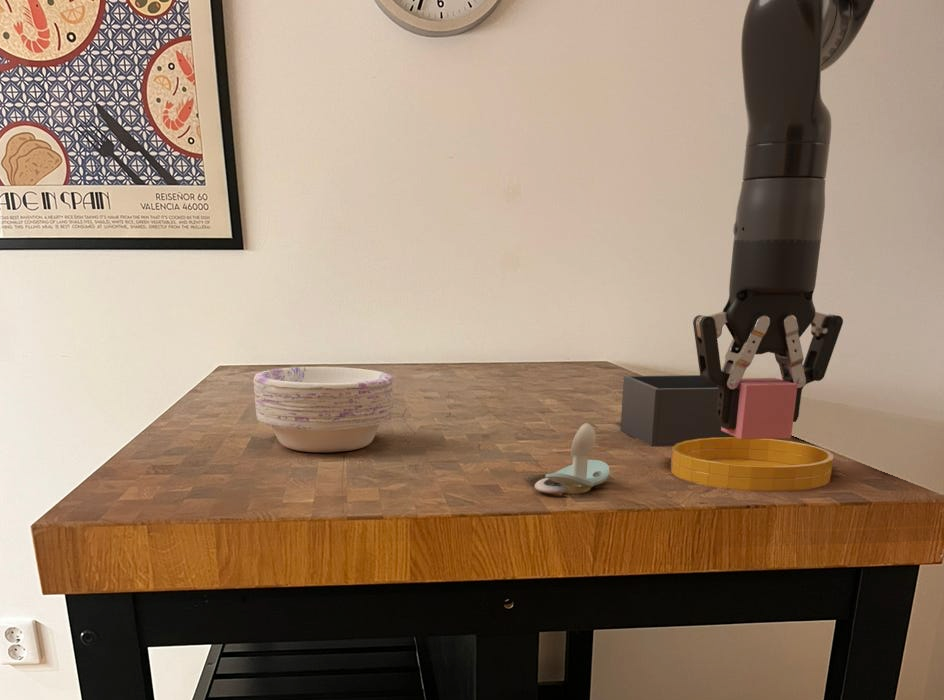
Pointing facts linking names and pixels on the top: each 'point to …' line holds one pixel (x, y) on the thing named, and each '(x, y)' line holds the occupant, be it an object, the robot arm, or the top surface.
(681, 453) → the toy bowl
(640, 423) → the grey bin
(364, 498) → the top surface
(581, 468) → the pacifier
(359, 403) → the paper bowls
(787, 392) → the toy cube
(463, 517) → the top surface
